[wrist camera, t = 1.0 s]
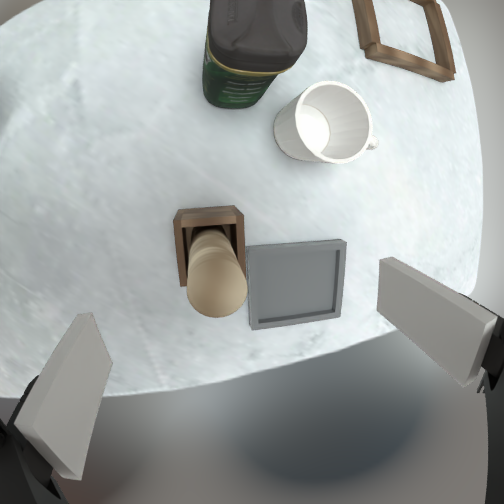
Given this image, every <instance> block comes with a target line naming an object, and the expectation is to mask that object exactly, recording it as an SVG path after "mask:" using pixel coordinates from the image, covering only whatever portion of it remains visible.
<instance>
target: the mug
mask: <svg viewBox="0 0 504 504" xmlns="http://www.w3.org/2000/svg"><path fill="white" fill-rule="evenodd" d="M372 129H373V126H372V117H371V114H370V112H369V109H368V107H367V105H366V103H365V102H364V100H363V98H362V97H361V96H360V95H359V94H358V93H357V92H356V91H355V90H353V89H352V88H350V87H349V86H347V85H345V84H342V83H339V82H336V81H323V82H318V83H315V84H314V85H312V86H310V87H308V88H307V89H306V90H304V91H303V92H302V93H301V94H300V95H298V96H297V97H296V98H295V99H294V100H292V101H291V102H290V103H289V104H288V105H287V106H285V107H284V108H283V109H282V110H281V111H280V112H279V113H278V115H277V117H276V119H275V122H274V137H275V139H276V142H277V144H278V146H279V147H280V148H281V150H282V151H283V152H284V153H286V154H287V155H288V156H290V157H292V158H294V159H298V160H304V161H315V162H325V163H334V164H335V163H347V162H350V161H353V160H355V159H356V158H358V157H359V156H361V155H362V154H363V153H364V151H365V150H373V149H375V148H376V147H377V146H378V140H377V139H376V137H375V136H373V135H372Z"/></svg>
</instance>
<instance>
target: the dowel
mask: <svg viewBox="0 0 504 504" xmlns="http://www.w3.org/2000/svg"><path fill="white" fill-rule="evenodd" d="M247 291H248V287H247V282H246V279H245V277H244V274H243V272H242V270H241V267H240V265H239V263H238V260H237V258H236V256H235V254H234V251H233V249H232V247H231V244H230V242H229V240H228V237H227V235H226V233H225V230H224V228H223V226H222V225H209V226H196V227H194V228H193V230H192V233H191V242H190V254H189V266H188V279H187V296H188V299H189V302H190V304H191V305H192V306H193V308H194V309H195V310H196V311H198V312H199V313H201V314H203V315H205V316H208V317H215V318H218V317H225V316H228V315H230V314H232V313H234V312H236V311H237V310H238V309H239V308H240V307H241V306H242V305H243V303H244V301H245V299H246V296H247Z"/></svg>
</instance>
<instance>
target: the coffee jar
mask: <svg viewBox="0 0 504 504" xmlns="http://www.w3.org/2000/svg"><path fill="white" fill-rule="evenodd" d="M306 44H307V15H306V8H305V2H304V0H210V10H209V16H208V26H207V35H206V43H205V54H204V61H203V78H202V80H203V91H204V95H205V97H206V99H207V100H208V101H209V102H210V103H211V104H213V105H215V106H218V107H223V108H245V107H250V106H252V105H254V104H255V103H257V102H258V100H259V99H260V98H261V97H262V96H263V94H264V93H265V91H266V90H267V88H268V87H269V85H270V84H271V83H272V81H273V80H274V79H275V78H276V76H277V75H278V74H280V73H283V72H285V71H287V70H288V69H290V68H291V67H292V66H293V65H294V64H295V62H296V61H297V60H298V58H299V57H300V55H301V54H302V52H303V51H304V49H305V47H306Z"/></svg>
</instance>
